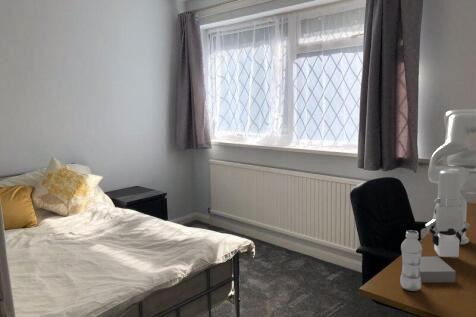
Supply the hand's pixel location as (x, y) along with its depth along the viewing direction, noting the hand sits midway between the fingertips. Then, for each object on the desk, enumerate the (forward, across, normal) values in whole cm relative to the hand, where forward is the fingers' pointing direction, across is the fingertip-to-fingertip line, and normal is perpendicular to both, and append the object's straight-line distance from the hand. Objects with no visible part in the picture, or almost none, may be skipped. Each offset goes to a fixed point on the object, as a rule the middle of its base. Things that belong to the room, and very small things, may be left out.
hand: (446, 243), depth 154 cm
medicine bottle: (+4, 0, 0) cm, 4 cm away
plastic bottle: (+5, -24, -25) cm, 35 cm away
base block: (+5, -13, -14) cm, 20 cm away
